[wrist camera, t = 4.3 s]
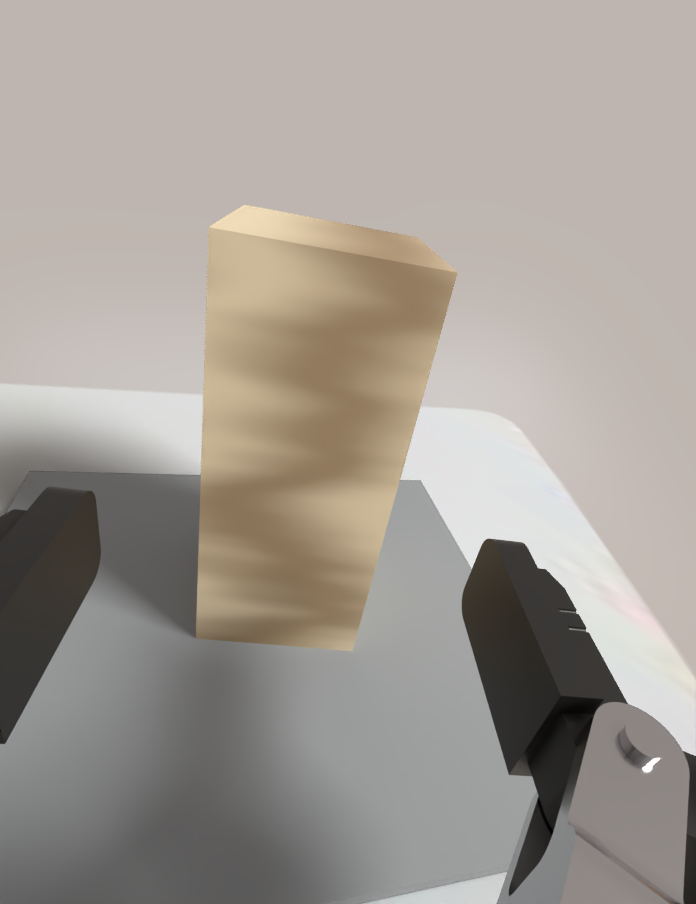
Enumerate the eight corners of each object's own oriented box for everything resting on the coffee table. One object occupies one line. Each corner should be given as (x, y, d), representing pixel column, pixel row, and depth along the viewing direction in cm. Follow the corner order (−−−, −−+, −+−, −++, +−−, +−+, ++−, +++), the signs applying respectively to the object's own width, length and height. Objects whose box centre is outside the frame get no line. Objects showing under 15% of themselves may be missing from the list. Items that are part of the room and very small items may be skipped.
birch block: (195, 638, 16) (208, 227, 10) (223, 533, 20) (244, 204, 14) (352, 650, 16) (457, 272, 10) (346, 547, 20) (418, 237, 14)
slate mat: (-276, 1043, 8) (-290, 1035, 8) (31, 480, 21) (29, 471, 21) (617, 846, 13) (626, 838, 13) (418, 488, 26) (420, 480, 26)
